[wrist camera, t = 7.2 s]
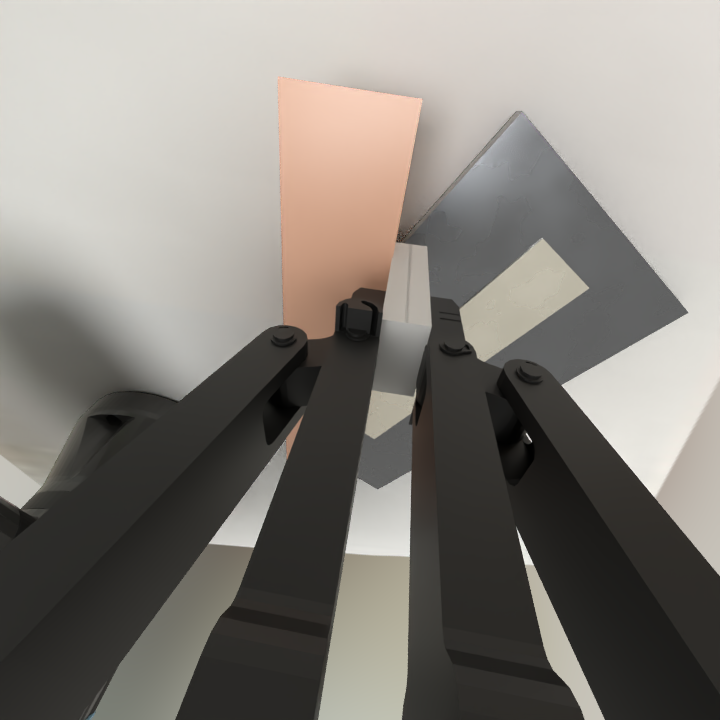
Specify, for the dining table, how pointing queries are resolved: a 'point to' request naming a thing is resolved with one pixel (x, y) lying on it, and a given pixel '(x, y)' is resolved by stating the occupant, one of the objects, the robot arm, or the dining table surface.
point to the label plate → (524, 278)
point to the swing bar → (339, 195)
